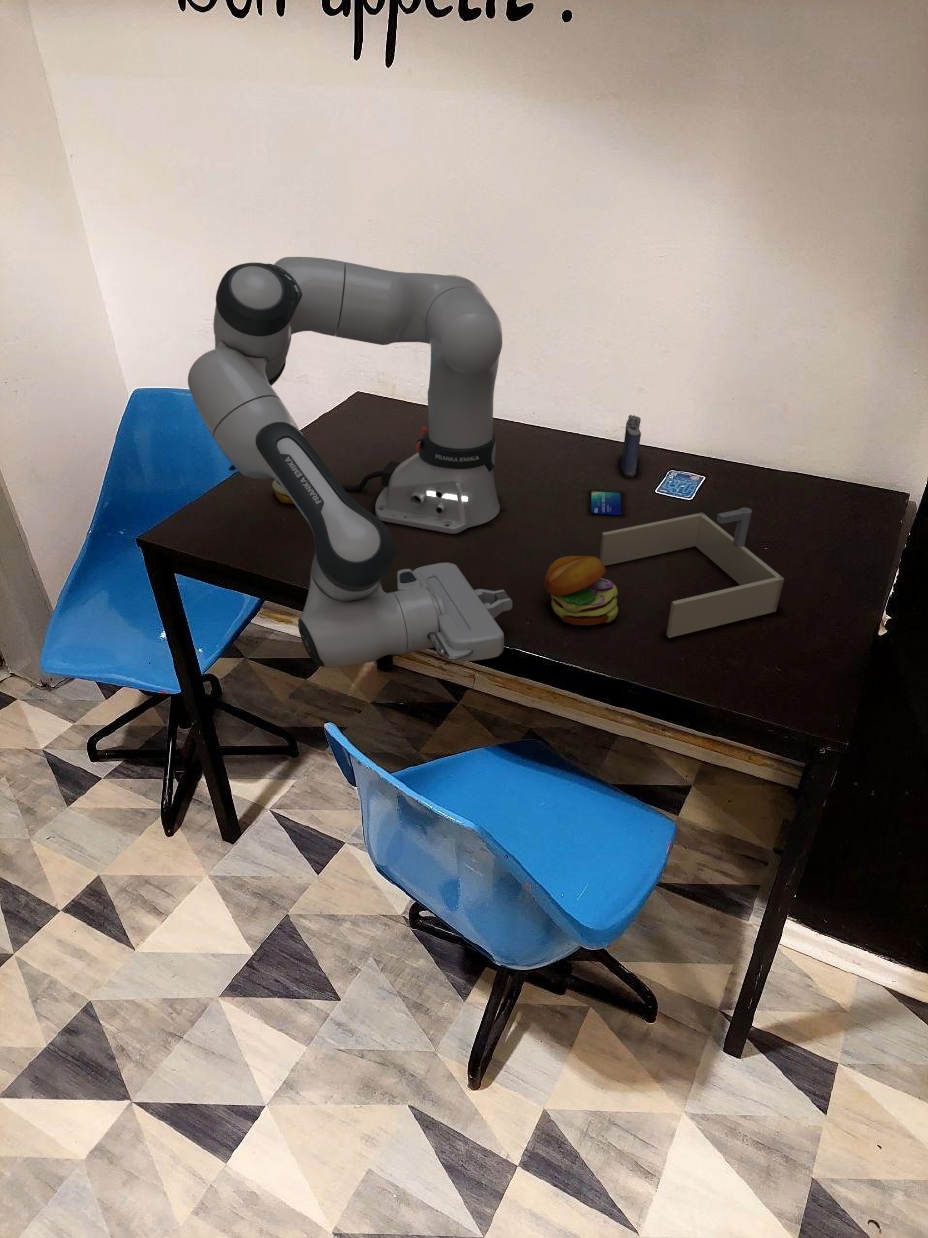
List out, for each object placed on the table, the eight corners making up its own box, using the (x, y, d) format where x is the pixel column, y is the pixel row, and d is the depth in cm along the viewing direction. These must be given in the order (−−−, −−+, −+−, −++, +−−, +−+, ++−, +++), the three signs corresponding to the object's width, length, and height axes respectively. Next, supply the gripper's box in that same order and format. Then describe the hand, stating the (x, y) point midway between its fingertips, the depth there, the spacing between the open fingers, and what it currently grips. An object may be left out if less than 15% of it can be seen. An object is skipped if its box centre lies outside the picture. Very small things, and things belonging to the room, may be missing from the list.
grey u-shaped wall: (668, 638, 129) (680, 568, 122) (598, 564, 145) (605, 499, 138) (778, 610, 134) (796, 542, 127) (699, 542, 151) (710, 479, 144)
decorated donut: (262, 493, 165) (260, 475, 163) (309, 475, 171) (307, 457, 169) (295, 513, 159) (293, 494, 157) (342, 493, 165) (341, 475, 163)
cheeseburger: (603, 639, 128) (593, 579, 124) (538, 631, 134) (527, 573, 129) (630, 605, 135) (622, 546, 130) (568, 598, 141) (558, 542, 136)
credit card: (621, 515, 158) (621, 514, 158) (591, 513, 159) (591, 513, 159) (620, 493, 165) (620, 492, 165) (591, 491, 166) (591, 491, 166)
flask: (636, 478, 171) (642, 425, 164) (620, 477, 171) (626, 424, 165) (635, 457, 178) (641, 406, 172) (620, 456, 178) (626, 405, 172)
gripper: (442, 643, 114) (539, 620, 118) (395, 564, 130) (482, 546, 134) (443, 680, 118) (537, 658, 122) (397, 599, 133) (482, 581, 137)
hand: (508, 599), depth 128 cm, fingers closed
